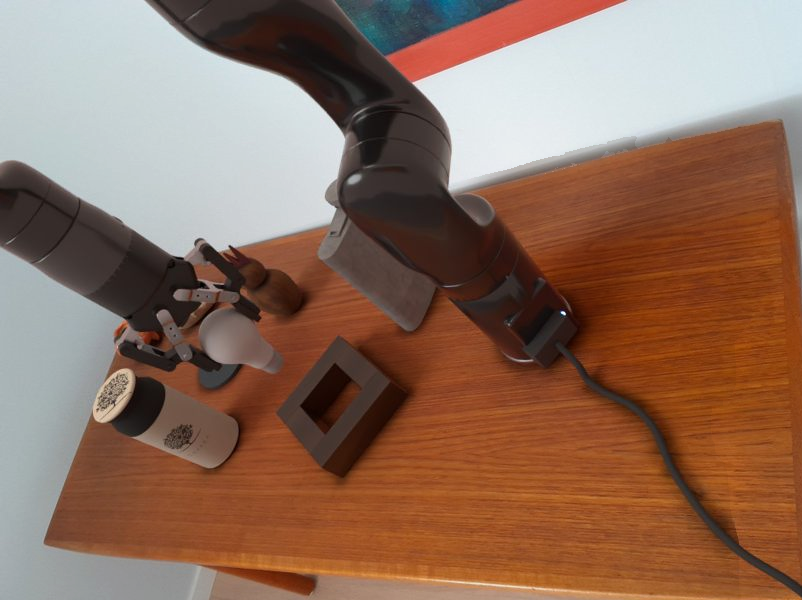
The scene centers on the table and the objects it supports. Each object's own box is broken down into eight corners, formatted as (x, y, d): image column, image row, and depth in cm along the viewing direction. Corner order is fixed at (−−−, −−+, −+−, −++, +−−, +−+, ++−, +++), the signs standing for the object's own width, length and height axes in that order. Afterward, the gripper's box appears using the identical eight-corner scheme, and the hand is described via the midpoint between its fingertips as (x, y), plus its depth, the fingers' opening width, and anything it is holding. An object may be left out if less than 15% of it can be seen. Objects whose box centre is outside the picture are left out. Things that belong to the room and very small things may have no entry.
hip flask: (430, 233, 95) (343, 138, 80) (454, 230, 92) (368, 131, 78) (400, 331, 89) (298, 248, 74) (424, 330, 86) (325, 244, 72)
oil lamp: (224, 287, 117) (202, 272, 113) (217, 322, 113) (194, 307, 109) (174, 310, 123) (151, 296, 119) (165, 344, 118) (141, 331, 115)
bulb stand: (409, 394, 83) (390, 381, 80) (342, 478, 82) (320, 468, 79) (356, 348, 92) (338, 334, 89) (295, 423, 91) (275, 412, 88)
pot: (125, 353, 124) (99, 330, 119) (161, 327, 125) (136, 303, 121) (134, 374, 118) (107, 350, 113) (171, 346, 119) (146, 322, 115)
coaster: (255, 349, 104) (252, 348, 103) (214, 400, 103) (211, 398, 103) (232, 323, 110) (229, 322, 110) (193, 370, 110) (190, 369, 109)
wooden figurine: (311, 285, 104) (240, 229, 93) (304, 316, 101) (230, 263, 90) (280, 294, 107) (208, 242, 96) (272, 325, 104) (197, 274, 93)
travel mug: (198, 436, 101) (91, 389, 88) (236, 407, 99) (133, 354, 86) (203, 479, 96) (90, 435, 82) (243, 449, 94) (134, 399, 81)
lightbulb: (307, 344, 76) (236, 296, 69) (288, 392, 74) (211, 349, 66) (273, 342, 80) (201, 297, 72) (254, 389, 78) (177, 347, 70)
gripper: (56, 336, 57) (207, 410, 69) (162, 208, 58) (294, 303, 70) (41, 303, 63) (185, 377, 75) (139, 185, 63) (266, 277, 75)
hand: (237, 340), depth 72 cm, fingers closed on lightbulb, 6 cm apart
